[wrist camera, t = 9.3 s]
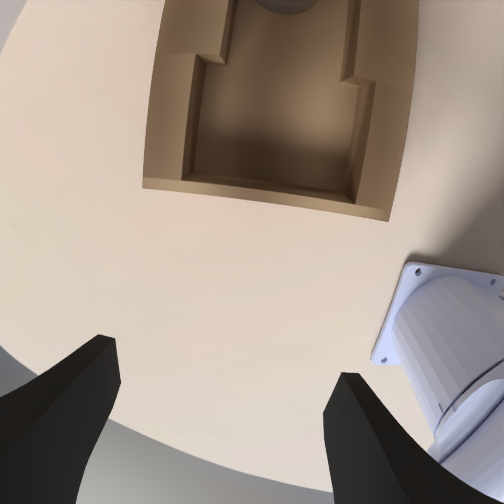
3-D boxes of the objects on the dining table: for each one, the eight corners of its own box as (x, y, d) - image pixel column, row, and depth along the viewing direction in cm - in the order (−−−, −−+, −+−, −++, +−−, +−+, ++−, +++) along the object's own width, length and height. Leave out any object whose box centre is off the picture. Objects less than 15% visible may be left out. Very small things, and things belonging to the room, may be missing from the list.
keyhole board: (392, -33, 11) (416, -58, 8) (364, 201, 17) (388, 221, 14) (203, -62, 11) (191, -95, 8) (166, 174, 17) (142, 188, 13)
